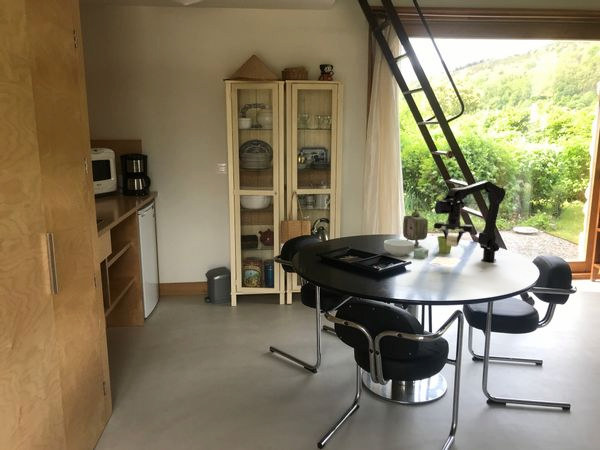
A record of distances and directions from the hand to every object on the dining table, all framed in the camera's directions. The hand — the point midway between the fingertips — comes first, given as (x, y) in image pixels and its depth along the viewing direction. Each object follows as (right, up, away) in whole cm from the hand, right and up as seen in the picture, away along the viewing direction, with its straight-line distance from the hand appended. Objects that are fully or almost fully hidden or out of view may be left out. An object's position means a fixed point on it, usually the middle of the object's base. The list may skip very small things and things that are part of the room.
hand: (452, 243), depth 248 cm
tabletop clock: (-8, -3, +47) cm, 47 cm away
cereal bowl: (-23, -7, +22) cm, 33 cm away
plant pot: (+4, -7, +27) cm, 28 cm away
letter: (-2, -10, +7) cm, 12 cm away
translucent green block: (-12, -8, +17) cm, 22 cm away
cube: (0, -1, 0) cm, 1 cm away
